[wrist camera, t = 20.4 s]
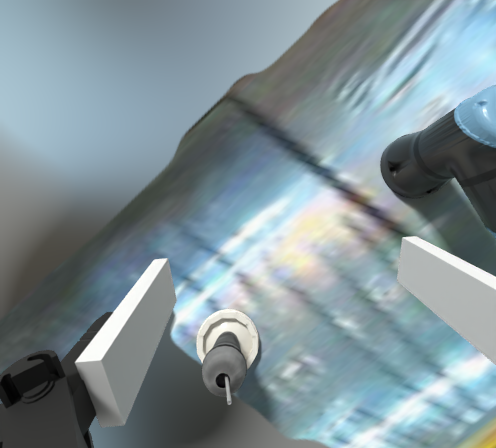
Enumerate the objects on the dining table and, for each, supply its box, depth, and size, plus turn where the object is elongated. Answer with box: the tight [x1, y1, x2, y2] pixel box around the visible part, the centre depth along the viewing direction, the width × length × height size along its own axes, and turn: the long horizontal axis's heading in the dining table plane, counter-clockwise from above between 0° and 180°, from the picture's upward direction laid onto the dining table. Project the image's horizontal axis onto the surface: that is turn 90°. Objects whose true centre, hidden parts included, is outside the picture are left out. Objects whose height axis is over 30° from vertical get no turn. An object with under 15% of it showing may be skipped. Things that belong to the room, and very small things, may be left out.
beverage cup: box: [202, 331, 247, 405], centre depth 40 cm, size 7×7×20 cm
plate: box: [197, 309, 259, 369], centre depth 49 cm, size 13×13×2 cm
